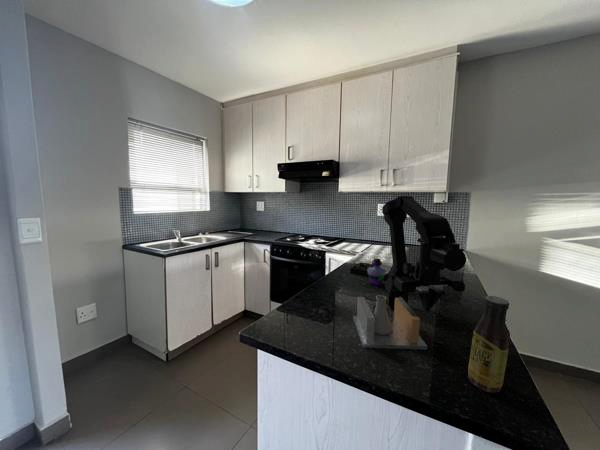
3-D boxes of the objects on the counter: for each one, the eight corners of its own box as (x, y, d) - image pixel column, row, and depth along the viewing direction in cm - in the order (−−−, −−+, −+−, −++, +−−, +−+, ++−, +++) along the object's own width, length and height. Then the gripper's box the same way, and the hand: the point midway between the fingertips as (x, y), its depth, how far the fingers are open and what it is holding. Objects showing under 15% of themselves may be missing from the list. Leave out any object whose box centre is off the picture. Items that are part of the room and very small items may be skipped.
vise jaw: (399, 318, 82) (401, 294, 81) (418, 343, 68) (420, 315, 67) (393, 317, 82) (395, 294, 81) (410, 343, 68) (412, 315, 67)
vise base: (404, 319, 83) (406, 296, 82) (427, 349, 67) (429, 321, 66) (353, 318, 84) (354, 295, 83) (363, 347, 68) (364, 319, 67)
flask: (393, 337, 71) (395, 303, 70) (367, 333, 73) (368, 300, 72) (391, 324, 78) (393, 293, 77) (367, 321, 80) (368, 291, 79)
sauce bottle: (460, 374, 58) (468, 292, 55) (485, 373, 58) (494, 291, 56) (483, 397, 51) (493, 305, 49) (511, 395, 52) (523, 304, 50)
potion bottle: (378, 289, 110) (379, 262, 108) (362, 283, 116) (363, 258, 115) (389, 284, 115) (391, 259, 114) (373, 279, 122) (374, 255, 120)
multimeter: (359, 268, 142) (360, 259, 141) (394, 275, 130) (395, 265, 130) (349, 274, 131) (350, 265, 130) (386, 282, 120) (387, 271, 119)
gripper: (443, 253, 81) (439, 299, 83) (387, 253, 80) (384, 300, 82) (469, 263, 70) (463, 315, 72) (404, 263, 68) (400, 317, 70)
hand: (426, 311), depth 74 cm, fingers closed
